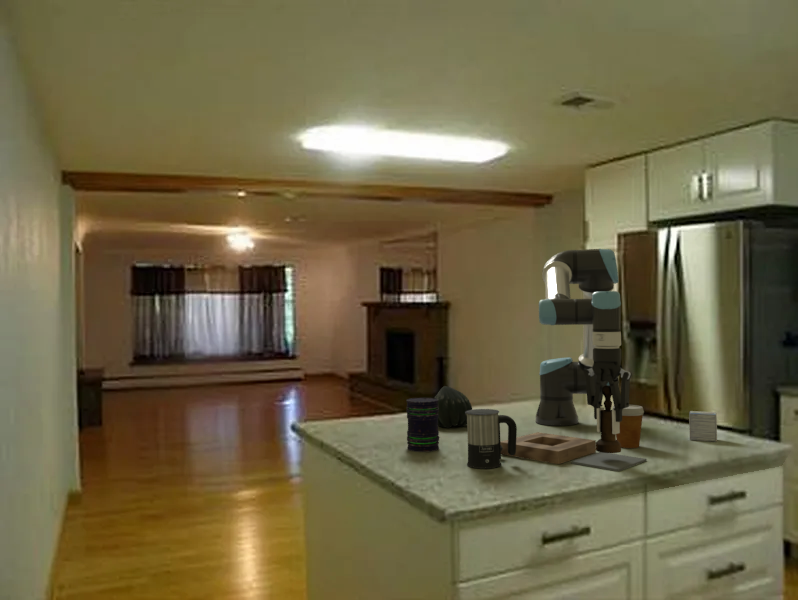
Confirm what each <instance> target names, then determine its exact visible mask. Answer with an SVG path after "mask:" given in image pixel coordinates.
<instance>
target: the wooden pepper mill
mask: <svg viewBox="0 0 798 600" xmlns="http://www.w3.org/2000/svg"><path fill="white" fill-rule="evenodd" d="M602 393H603V397H604V399H605V400H603V406H604V410H601V432H600V439H598V440H596V452H597V453H598V452H602V453H612V454H618V453H621V452H622V447H621V443H620V442H619V441H618V440H617V438H616V434H612V408H613V401H612V400H611V397H612V393H611V387H610V386H609V385H605V386H604V387H603V388H602Z"/></svg>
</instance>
